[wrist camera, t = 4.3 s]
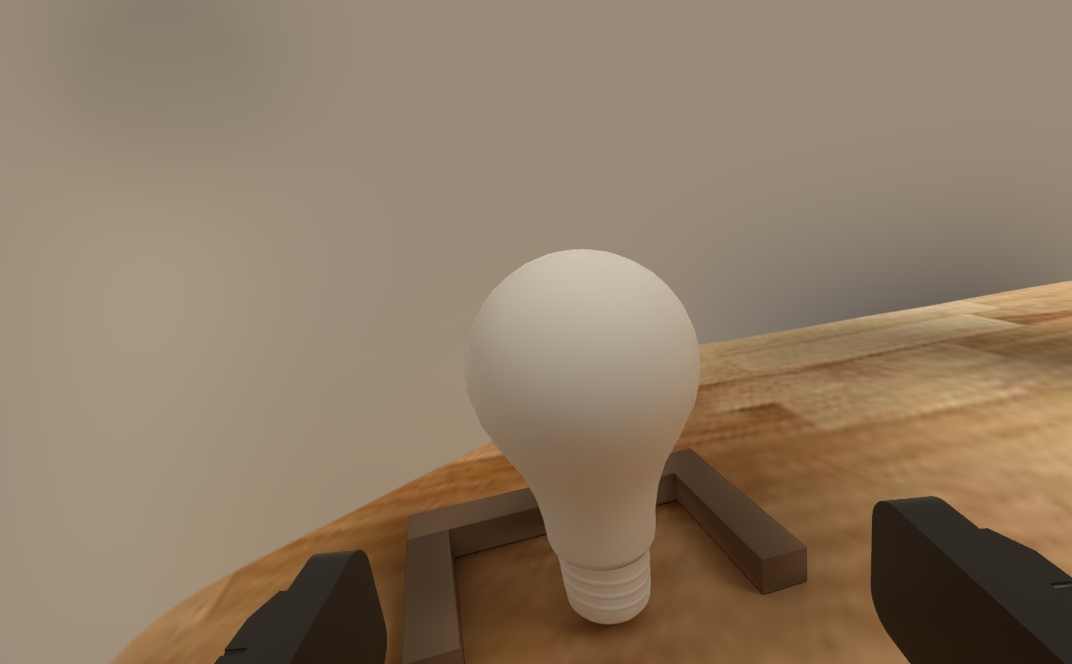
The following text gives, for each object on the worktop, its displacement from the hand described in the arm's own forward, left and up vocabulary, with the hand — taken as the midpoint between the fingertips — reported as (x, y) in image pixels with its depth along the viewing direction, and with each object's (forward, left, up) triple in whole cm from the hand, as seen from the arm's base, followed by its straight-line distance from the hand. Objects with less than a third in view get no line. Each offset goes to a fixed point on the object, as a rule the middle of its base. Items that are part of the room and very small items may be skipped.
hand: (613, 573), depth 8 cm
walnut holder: (-2, -8, -6) cm, 11 cm away
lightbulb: (-2, -6, -7) cm, 9 cm away
